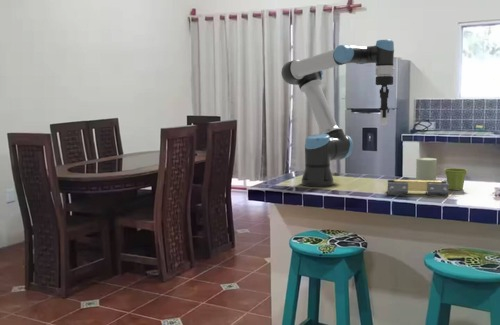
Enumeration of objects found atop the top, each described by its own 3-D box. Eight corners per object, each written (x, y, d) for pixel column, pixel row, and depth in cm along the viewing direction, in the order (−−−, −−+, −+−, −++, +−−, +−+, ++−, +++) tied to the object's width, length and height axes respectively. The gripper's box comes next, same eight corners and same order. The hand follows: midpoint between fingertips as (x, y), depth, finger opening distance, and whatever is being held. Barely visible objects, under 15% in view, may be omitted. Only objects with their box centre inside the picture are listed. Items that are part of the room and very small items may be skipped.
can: (414, 181, 246) (415, 156, 244) (434, 181, 244) (435, 156, 242) (416, 184, 237) (417, 159, 235) (437, 185, 235) (438, 159, 233)
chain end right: (428, 195, 211) (428, 184, 210) (426, 192, 219) (426, 180, 218) (448, 196, 209) (449, 184, 208) (445, 192, 217) (446, 181, 216)
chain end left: (388, 194, 214) (388, 183, 214) (387, 191, 223) (387, 179, 222) (407, 195, 212) (408, 183, 212) (406, 191, 221) (406, 180, 220)
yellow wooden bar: (394, 190, 216) (394, 180, 216) (394, 188, 220) (394, 179, 219) (441, 191, 212) (442, 182, 211) (440, 189, 215) (441, 180, 215)
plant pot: (440, 187, 229) (441, 168, 228) (461, 187, 229) (462, 168, 228) (448, 191, 220) (448, 171, 219) (470, 191, 220) (471, 171, 218)
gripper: (394, 74, 210) (393, 126, 213) (392, 76, 234) (391, 122, 237) (375, 75, 212) (374, 126, 215) (375, 77, 236) (375, 122, 239)
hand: (383, 124), depth 226 cm, fingers open, 13 cm apart
